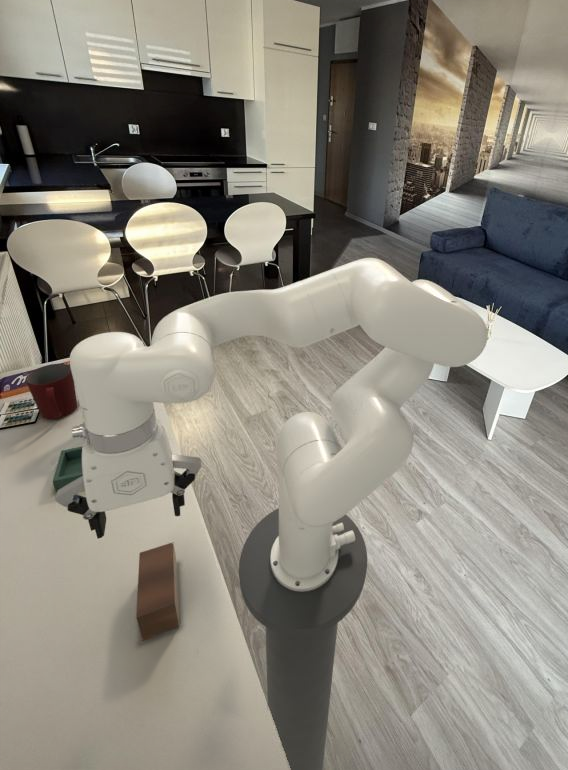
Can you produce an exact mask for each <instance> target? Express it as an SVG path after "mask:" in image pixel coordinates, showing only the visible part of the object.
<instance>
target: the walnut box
mask: <svg viewBox="0 0 568 770" xmlns="http://www.w3.org/2000/svg"><path fill="white" fill-rule="evenodd" d="M174 543H175V542H173V541H172V542H169V543H166V544H162V545H160V546H157V547H154V548H150V549H147V550H143V551H141V552H139V556H138V576H137V594H136V596H137V598H136V615H135V618H136V621H137V622H136V623H137V626H138V630H139V633H140V636H141V640H142V641H143V642H144V641H146V640H149V639H151V638H153V637H156V636H159V635H161V634H164V633H167V632H169V631H171V630H174V629H175V628H178V627H180V607H179V605H180V603H179V580H178V578H179V575H178V574H179V573H178V562H177V561H178V560H177V556H176V555H177V554H176V549H175V544H174Z"/></svg>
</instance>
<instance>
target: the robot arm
mask: <svg viewBox="0 0 568 770" xmlns="http://www.w3.org/2000/svg"><path fill="white" fill-rule="evenodd" d="M358 326H360V327H361V329H362V331H364V333H365V334H366V335H367V336H368V337H369V338H370V339H371V340H372V341H374V342H375V343H377V344H379V345H380V346H382V347H384V348H383V349H382V350H381V351H380V352H378V354H376V356H375V357H373V359H371V360H370V361H369V362H368V363H366V365H364V366H363V367H362V368H360V370H358V371H357V372H356V373H354V375H352V376H350V378H348V379H347V380H346V381H345V382H344V383H343V384H342V385H341V386H340V387H339V388H338V389H336V391H335V392H334V393H333V395H332V397H331V400H330V410H331V414H332V416H333V419H334V421H335V424H336V426H337V429H338V430H339V433H340V435H341V438H342V440H343V441H344V444H345V445H344V446H343V447H342V445H341V443H340V441H339V438H338V436H337V434H336V432H335V430H334V428H333V426H332V425H331V423H330V422H329V421H328V420H327V419H326V418H325V417H324V416H322V415H321V414H319V413H317V412H313V411H302V412H299V413H296V414H294V415H292V416H291V417H289V418H288V419H287V420H286V421H285V422H284V423H283V424H282V425H281V427H280V429H279V432H278V434H277V437H276V444H275V455H276V456H275V457H276V466H277V476H278V477H277V478H278V508H279V536H278V537H277V538H276V540H275V542H274V544H273V546H272V550H271V556H270V563H271V569H272V572H273V574H274V576H275V578H276V579H277V581H278V582H279V583H280V584H282V585H283V586H284V587H286V588H288V589H290V590H293V591H299V592H304V591H310V590H314V589H316V588H318V587H320V586H322V585H323V584H324V583H326V582H327V581H328V580H329V578H330V577H331V576H332V574H333V573H334V571H335V569H336V566H337V562H338V549H340V546H342V545H344V544H348V543H351V542H354V541H355V535H354V532H353V530H351V531H348V532H345V533H343V534H341V535H339V536H338V535H337V534H335V535H333V534H334V533H336V532H340V531H343V530H344V526H343V523H339V524H336V525H335V526H332V525H333V522H335V521H337V520H338V519H340V518H342V517H343V516H344V515H348V513H350V512H351V511H352V510H353V509H354V508H356V507H357V506H358V505H359V504H361V503H362V502H363V501H364V500H365V499H366V498H368V497H369V496H370V495H371V494H373V492H375V491H376V490H377V489H378V488H379V487H380V486H382V485H384V483H385V482H387V481H388V480H389V479H390V478H391V477H392V476H393V475H395V474H396V473H397V472H398V471H399V470H400V469H401V468H402V467H403V466H404V464H405V463H406V462H407V460H408V458H409V457H410V455H411V452H412V450H413V447H414V432H413V430H412V429H413V428H412V426H411V425H410V422H409V420H408V419H407V417H406V416H405V414H404V413H403V412H402V411H401V408H402V407H403V406H404V405H405V404H406V403H407V402H408V401H409V400H410V399H411V398H412V397H413V396H414V395H415V394H416V393H418V392H419V390H420V389H422V388H423V386H424V385H425V384H426V382H427V381H428V380H429V378H430V376H431V374H432V371H433V368H434V365H437V366H441V367H448V368H460V367H463V366H466V365H468V364H471V363H472V362H473V361H475V360H476V359H477V358H478V357H480V356H481V354H482V353H483V352H484V350H485V348H486V346H487V342H488V328H487V324H486V322H485V321H484V319H483V318H482V317H481V315H479V313H478V312H477V311H476V310H473V308H471V307H469V306H468V305H467V304H465V303H464V302H462V301H461V300H460V299H459V298H457V297H456V296H455V295H453V294H452V293H451V292H450V291H448V290H447V289H445V288H444V287H442V286H441V285H439V284H437V283H435V282H434V281H430V280H427V279H415V280H413V281H410V280H409V279H408V278H407V277H405V276H404V275H403V274H402V273H400V272H399V271H398V270H397V269H396V268H394V267H393V266H392V265H390V264H388V263H387V262H385V261H384V260H382V259H380V258H376V257H364V258H360V259H356V260H353V261H351V262H348V263H345V264H342V265H339V266H337V267H334V268H332V269H328V270H326V271H323V272H320V273H317V274H315V275H312V276H310V277H307V278H304V279H302V280H298V281H296V282H293V283H290V284H287V285H284V286H282V287H278V288H274V289H254V290H253V289H252V290H240V291H229V292H225V293H219V294H216V295H213V296H209V297H207V298H203V299H201V300H198V301H196V302H193V303H191V304H188V305H185V306H182V307H179V308H178V309H175V310H173V311H172V312H170V313H168V314H167V315H165V316H164V317H163V318H162V319H161V320H160V321H158V323H157V325H156V326H155V327H154V330H153V333H152V336H151V341H150V346H147V345H146V346H145V344H144V342H143V341H142V340H141V339H140V338H139V337H138V336H137V335H135V334H132V333H129V332H124V331H108V332H103V333H98V334H94V335H91V336H89V337H87V338H85V339H83V340H81V341H80V342H79V343H77V344H76V345H75V346H74V347H73V348H72V350H71V352H70V354H69V366H70V367H71V372H72V376H73V380H74V385H75V392H76V397H77V399H78V403H79V407H80V410H81V415H82V419H83V423H80V424H79V425H75V426H72V428H71V436H72V438H74V439H75V438H83V439H85V440H84V441H83V444H82V446H83V447H82V472H83V476H81V477H80V478H78V479H76V480H74V481H73V482H71V483H69V484H68V485H66V486H64V487H63V488H61V489H59V490H58V491H57V492H56V494H55V497H54V501H55V502H56V503H58V504H59V505H60V506H62V507H64V508H67V511H68V512H69V513H73V514H78V515H80V516H82V519H83V520H86V521H87V522H88V524H89V528H90V531H95V533H96V534H95V535H96V538H97V540H99V539H101V538H102V539H103V537H104V536H105V534H106V533H105V531H106V525H107V514H106V512H108V511H113V510H116V509H121V508H125V507H129V506H132V505H136V504H140V503H143V502H148V501H152V500H155V499H158V498H161V497H164V496H167V495H168V494H170V493H171V496H172V497H171V498H172V507H173V513H174V517H180V516H181V507H185V506H186V502H185V501H186V499H185V493H186V489H187V488H188V487H189V486H191V485H192V483H193V482H194V481H195V480H196V476H197V475H198V473H199V471H200V470H201V468H202V459H201V457H199V456H190V455H183V454H173V452H172V448H171V444H170V441H169V438H168V435H167V432H166V430H165V427H164V425H163V423H162V422H161V420H159V419H158V418H157V416H156V410H155V405H154V403H160V404H185V403H186V404H187V403H190V402H194V401H197V400H199V399H201V398H202V397H204V396H205V395H207V394H208V392H209V391H210V390H211V388H212V387H213V384H214V381H215V373H216V372H215V370H216V369H215V358H214V348H215V347H216V346H219V345H221V344H224V343H227V342H229V341H232V340H237V339H240V338H244V337H254V336H256V337H257V336H258V337H265V338H269V339H272V340H274V341H277V342H279V343H282V344H284V345H286V346H289V347H291V348H293V349H304V348H306V347H309V346H312V345H313V344H316V343H318V342H321V341H324V340H325V339H328V338H331V337H334V336H335V335H338V334H340V333H343V332H345V331H348V330H350V329H354V328H355V327H358ZM175 469H182V470H184V471H183V472H182V473H180V472H177V471H176V470H175ZM83 491H84V492H85V496H83V495H81V494H79V493H81V492H83ZM275 565H276V566H275ZM327 573H328V574H327ZM297 585H299V586H297Z"/></svg>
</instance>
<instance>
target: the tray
mask: <svg viewBox="0 0 568 770" xmlns="http://www.w3.org/2000/svg"><path fill="white" fill-rule="evenodd" d="M82 447H83V445H81V446H77V447H76V446H75V447H72V448H67V449H63V450H60V454H59V458H58V460H57V465H56V467H55V471H54V474H53V478H52V481H51V482H52V484H53V488H54V491H55V493H57V491H58V490H59V489H61V488H63V487H64V486H66V485H68V484H69V483H71V482H73V481H74V480H76V479H78V478H80V477H81V476H83V472H82Z"/></svg>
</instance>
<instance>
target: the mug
mask: <svg viewBox="0 0 568 770" xmlns="http://www.w3.org/2000/svg"><path fill="white" fill-rule="evenodd" d="M25 383H26V384H27V388H28V390H29V392H30V394H31V397H32V399H33V401H34V403H35V405H36V407H37V409H38V411H39V414H40V416H41V417H42V418H43V419H45V420H50V421H51V420H59V419H63V418H65V417H67V416H69V415H71V414H72V413H74V412H75V411H76V410H77V408H78V401H77V399H78V398H77V392H76V388H75V384H74V380H73V376H72V372H71V367H70V364H65V363H52V364H47V365H46V364H45V365H44V366H40V367H38V368H36V369H34V370H32V371H31V372H29V373H28V374H27V375H26V377H25Z"/></svg>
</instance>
